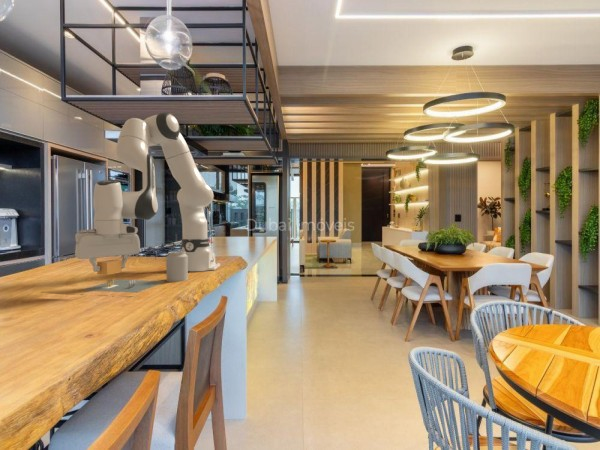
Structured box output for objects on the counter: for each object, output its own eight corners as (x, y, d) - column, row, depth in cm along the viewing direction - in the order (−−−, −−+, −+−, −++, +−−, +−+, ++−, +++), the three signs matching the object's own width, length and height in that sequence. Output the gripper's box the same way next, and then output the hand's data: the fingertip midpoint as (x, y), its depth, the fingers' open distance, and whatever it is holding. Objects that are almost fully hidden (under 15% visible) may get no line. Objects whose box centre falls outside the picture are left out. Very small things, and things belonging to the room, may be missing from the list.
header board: (117, 283, 144) (117, 272, 144) (167, 285, 141) (167, 274, 140) (80, 294, 125) (80, 282, 125) (137, 297, 122) (136, 284, 122)
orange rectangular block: (112, 271, 134) (111, 259, 134) (121, 272, 132) (121, 260, 132) (97, 274, 128) (97, 262, 128) (107, 274, 127) (106, 262, 127)
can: (184, 285, 140) (183, 252, 139) (163, 285, 140) (163, 252, 140) (190, 281, 147) (190, 250, 147) (170, 281, 148) (170, 250, 147)
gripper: (79, 230, 120) (80, 274, 120) (142, 227, 136) (142, 267, 136) (71, 229, 124) (72, 272, 124) (133, 227, 140) (133, 265, 140)
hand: (109, 269), depth 130 cm, fingers closed on orange rectangular block, 7 cm apart
